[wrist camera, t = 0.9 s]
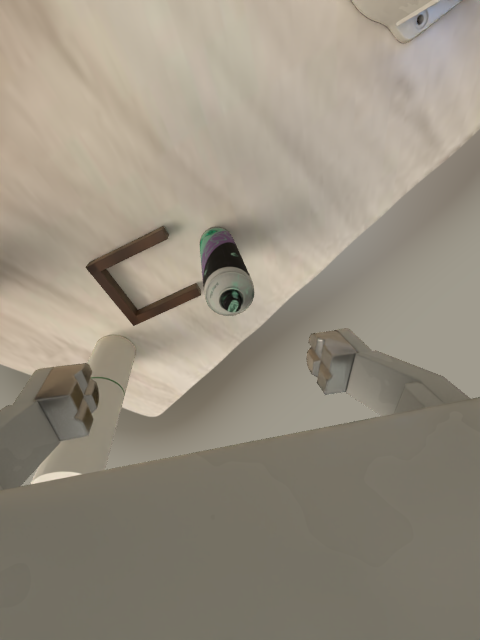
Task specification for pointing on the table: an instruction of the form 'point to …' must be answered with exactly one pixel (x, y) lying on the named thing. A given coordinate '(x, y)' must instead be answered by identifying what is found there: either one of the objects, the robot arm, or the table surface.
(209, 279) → the spray can
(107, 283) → the frame
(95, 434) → the cylindrical container
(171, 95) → the table surface
